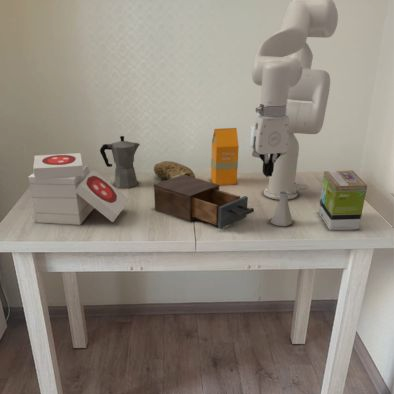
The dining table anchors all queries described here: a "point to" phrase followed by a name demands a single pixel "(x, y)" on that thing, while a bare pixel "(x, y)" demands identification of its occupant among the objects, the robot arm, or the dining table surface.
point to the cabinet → (180, 195)
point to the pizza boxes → (71, 190)
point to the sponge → (172, 170)
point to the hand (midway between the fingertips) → (267, 175)
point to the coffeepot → (122, 162)
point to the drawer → (220, 208)
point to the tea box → (342, 200)
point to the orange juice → (224, 156)
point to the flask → (282, 211)
